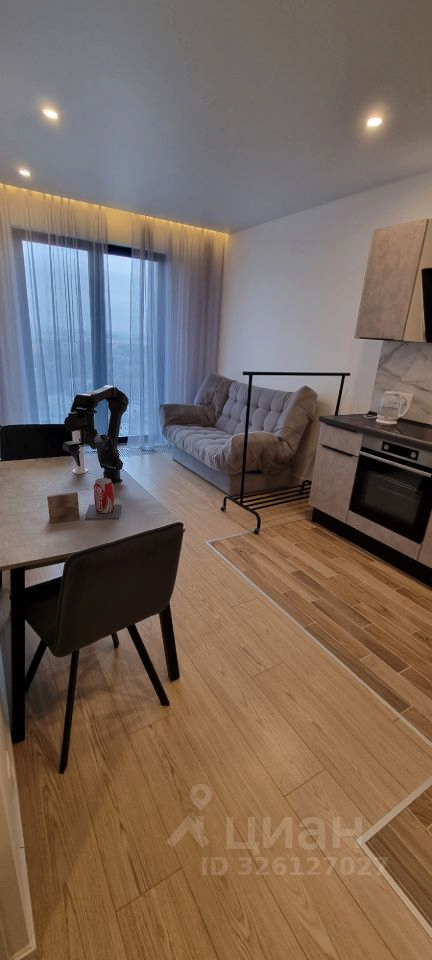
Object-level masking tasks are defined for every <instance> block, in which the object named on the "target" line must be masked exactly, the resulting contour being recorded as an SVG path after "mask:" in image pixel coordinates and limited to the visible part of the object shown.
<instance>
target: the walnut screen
mask: <svg viewBox="0 0 432 960" xmlns="http://www.w3.org/2000/svg"><path fill="white" fill-rule="evenodd" d="M46 499H47V505H48V506H47V507H48V516H49V520H48V521H49V524H56V523H63V522H71V521H81V516H80V509H79V508H80V506H79V494H78V491H74V492H66V493H55V494H47V496H46Z"/></svg>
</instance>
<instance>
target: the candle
mask: <svg viewBox="0 0 432 960" xmlns="http://www.w3.org/2000/svg"><path fill="white" fill-rule="evenodd" d="M71 436H72V441H74V442H76V443H80V441H79V438H80V431H78V430H77V431H74V432H71ZM78 451H80V454H79V458H80V467H78V465H77V464H76V462H75V460H74V459H73V460H74V468H73V469H72V473H73V474H75V475H83V474H87V473H88V471H89V469H88V468H86V464H85V449H84V447H80V448H79V450H78Z"/></svg>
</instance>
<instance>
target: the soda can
mask: <svg viewBox="0 0 432 960" xmlns="http://www.w3.org/2000/svg"><path fill="white" fill-rule="evenodd" d="M111 481H112V480H111V479H108V478H104V477H102V478H97V479H95V483H94V484H93V496H94V497H93V500H94V504H95V509H96V511H97V512H99V513H109V512H111V511H113V510H114V504H115V488H114V487H115V486H114V483H112V482H111Z"/></svg>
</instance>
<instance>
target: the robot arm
mask: <svg viewBox="0 0 432 960" xmlns="http://www.w3.org/2000/svg"><path fill="white" fill-rule="evenodd" d="M73 398H74V399H73V402H72V405H71V407H70V412H68V413H67V415H68V416H66V417H65V418H64V421H63V425H64V427H65V429H66V430H67V431H68V432H70V433H72V432H74V431H77V430H78V431H80V438H79V441H80V443H76V442H74V441H73V440H70V441H64V442H63V444H62V450H64V451H66V452H69V454H70V455H71V457H72V458H73V460H75V462H76V464H77V465H78V467H80V458H79V454H80V451H78V450H79V448H80V447H90V449H92V450H96V454H97V460H98V463H99V465H100V468H101V469H103V474H102V475H103V476H102V477H103V478H108V479H111V480H112V481H111V482H112V483H113V484H116V483H120V482H123V479H122V478H121V470H123V467H124V462H123V461H122V460H121V458H120V454H121V453H120V452H119V449H118V441H119V437H120V436H119V435H120V431H121V424H122V418H123V417H122V416H123V415H124V414H125V413H126V411H127V409H128V406H129V403H130V401H129V398H128V396H127V395H126V393H124V392H123V391H121V390H120V389H118V387H117V386H115V385H107V384H105V385H104V386H102V387H100V388H97V389H96V390H93V391H91V392H78V393H76V394H75V396H74V397H73ZM104 400H105V401H106V402H107V408H108V410H109V412H110V414H109V420H108V428H107V434H105V433H104V434H103V433H102V434H98V429H97V428H96V424H95V422H96V421H95V414H97V410H96V409H95V408H97V407H98V406H99V403H100V402H102V401H104ZM75 462H74V463H75Z"/></svg>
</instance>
